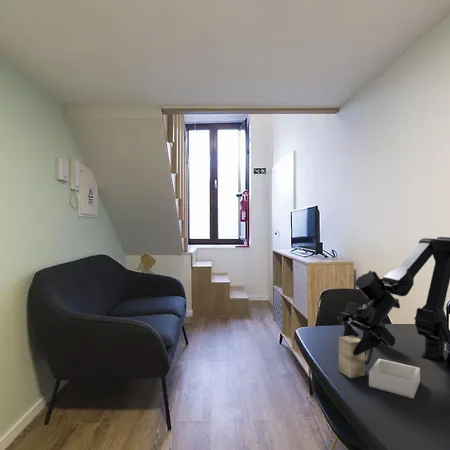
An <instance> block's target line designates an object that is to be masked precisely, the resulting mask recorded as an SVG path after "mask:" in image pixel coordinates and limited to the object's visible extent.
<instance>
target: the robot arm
mask: <svg viewBox="0 0 450 450" xmlns="http://www.w3.org/2000/svg"><path fill="white" fill-rule="evenodd" d="M431 257H433V259H434V266H433V271H432V275H431V276H432V277H431V280H430V284H429V289H428V293H427V298H426V301H425V304H424V305H423V306H422V307H418V308H417V309H416V311H415V313H416V314H415V317H414V319H413V320H414V325H415V327H416V331H417V334H418V335H421V336H423V337H424V348H423V352H422V353H421V354H422V355H421V357H422V358H426V359H430V360H431V359H432V360H435V361H441V362H446V361H447V358H448V354H447V353H446V343H450V328H449V327H448V326H447V325H448V323H447V322H448V318H447V315H446V312H445V310H444V308H445V303H446V300H447V299H446V298H447V295H448V290H449V285H450V237H449V236H448V237H447V236H438V237H436V238H429V237H428V238H425V237H424V238H420V240H419V241H418V244H417V246H416V247H415V248H414V249H413V250H412V252H410V253H409V255H408V256H407V258H406V259H405V260H404V261H403V262H402V263H401V264H400V265H399V266H397V267H396V268H394V269H393V270H390V271H389V272H387V273H386V274H385V275H384V276H383V278H380V277H379V276H378V274H377V272H376V271H374V270H373V271H372V270H369V271H368V272H367V273H363V274H362V275H360V276H359V277H357V279H356V281H355V286H356V287H357V288H358V290H359V291H360V292H361V293H362V294H363V295H364V297H365V298H366V299H367V300H369V302H370V303H369V302H368V303H369V305H368V303H364V304H362V305H361V304H358V303H355V302H352V301H348V304H347V305H346V307H345V308H346V309H345V311H340V312H339V313H338V314H337V316H336V319H338V321H340V323H341V324H342V325H343V326H344V330H343V336H342V337H344V336H350V335H353V336H356V337H358V338H359V336H360V334H359V333H358V332H357V330H358V329H359V330H360V331H362V337H361V338H360V339H361V340H360V342H359V343H358V345H357V346H356V348H355V350H354V352H353V354H354V355H355V356H356V355H358V354H360V353H363V352H365V351H367V350H369V349H371V348H372V349H374V348H377V347H382V346H386V347H387V348H388V347H389V348H391V349H392V348H393V347H394V345H395V344H396V337H395V336H394V335H393V334H392V333H391V331H390V330H388V329H387V327H385V328H384V327H382V326H380V324H381V323H382V322H384V323H386V324H387V322H388V319H387V318H385V317H386V316H387V317H388V314H390V312H391V310H392V309H393V308H395V309H401V304H400V301H399V298H396V297H394V296H398V297H406V296H408V294H409V293H410V291H411V289H412V288H413V287H414V283H415V282H414V279H415V276H416V275H417V274H418V273H419V271H420V270H422V268H423V266H425V264H427V262H428V261H429V259H430V258H431ZM393 295H394V296H393ZM382 341H383V345H382V344H381V342H382Z"/></svg>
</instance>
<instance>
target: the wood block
mask: <svg viewBox="0 0 450 450" xmlns="http://www.w3.org/2000/svg"><path fill="white" fill-rule="evenodd" d="M361 339H362V338H360V337H359V336H358V337H356V336H353V335H350V336H344V337H343V336H338V372H340V373H341V374H343V375H345V376H346V377H348V378H350V379H353V378H357V377H362V376H365V370H366V369H365V352H363V353H360V354H358V355H356V356H355V355H354V354H353V352H354V350H355V348H356V346H357V345H358V343H359V342H360V340H361Z"/></svg>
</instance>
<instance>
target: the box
mask: <svg viewBox="0 0 450 450" xmlns="http://www.w3.org/2000/svg"><path fill="white" fill-rule="evenodd" d="M420 383H421V367H417V366H413V365H409V364H404V363H401V362H396V361H391V360H387V359H382V358H378V359H377V360H376V361H375V363H374V364H373V365H372V367H371V368H370V370H369V371H368V387H369V388H370V387H371V388H374V389H377V390H381V391H384V392H388V393H392V394H396V395H398V396H403V397H406V398H410V399H413V400H414V398H415V396H416V393H417V391H418V388H419V386H420Z"/></svg>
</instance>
